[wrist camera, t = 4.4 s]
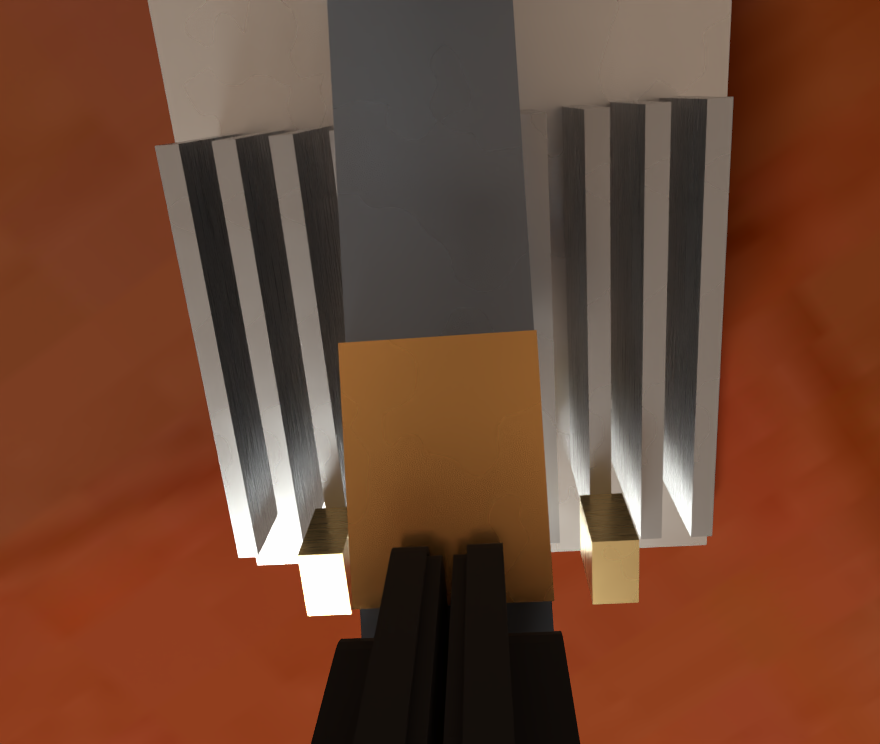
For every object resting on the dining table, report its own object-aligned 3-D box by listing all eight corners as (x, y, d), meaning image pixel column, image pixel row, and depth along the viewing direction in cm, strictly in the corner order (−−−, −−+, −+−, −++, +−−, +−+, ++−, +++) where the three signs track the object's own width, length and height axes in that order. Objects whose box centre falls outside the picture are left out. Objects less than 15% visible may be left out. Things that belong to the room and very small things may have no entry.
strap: (334, -189, 14) (301, -309, 12) (494, -208, 14) (494, -334, 12) (383, 686, 13) (358, 748, 11) (551, 680, 13) (563, 743, 11)
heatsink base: (134, -165, 18) (-71, -322, 11) (726, -233, 17) (892, -450, 10) (267, 544, 25) (189, 713, 18) (695, 523, 24) (783, 694, 17)
